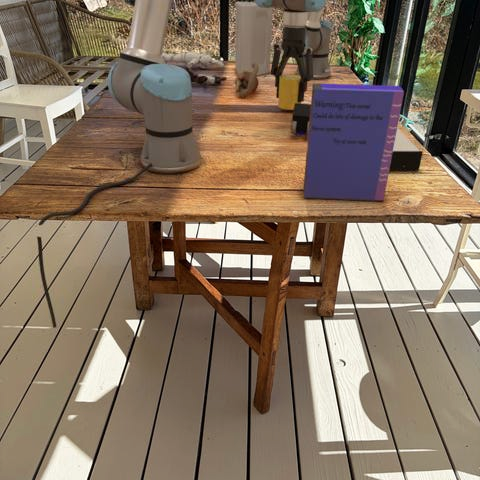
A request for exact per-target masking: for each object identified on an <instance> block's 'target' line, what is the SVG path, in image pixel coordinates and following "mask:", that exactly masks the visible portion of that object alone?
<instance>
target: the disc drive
mask: <svg viewBox="0 0 480 480" xmlns="http://www.w3.org/2000/svg"><path fill="white" fill-rule="evenodd" d="M423 153H424V152H423V151H422V150H420V149H419V148H418V147H417V146H416V145H415V144H414V143H413V142H412V141H411V140H410V139H409V138H408V137H407V136H406V135H405V134H404V133H403V132H402V130H400V128H399V127H397V132H396V137H395V142H394V148H393V153H392V158H391V164H390V169H389V172H391V171H393V172H394V171H396V172H397V171H398V172H399V171H400V172H401V171H404V172H405V171H406V172H408V171H411V172H412V171H415V172H416V171H417V172H418V171H420V166H421V163H422V158H423Z"/></svg>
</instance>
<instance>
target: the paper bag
mask: <svg viewBox="0 0 480 480" xmlns="http://www.w3.org/2000/svg"><path fill="white" fill-rule="evenodd" d="M273 8H274V7H270V8H261V7H259V6H258V5H257V4H256V3H255V1H254V2H252V1H235V59H234V60H235V62H234V63H235V65H234V66H235V68H234V69H235V71H236V73H237V76H238V75H239V74H240V72H241V71H243V70H245V71H249V72H253V70H254V68H253V67H252V64H253V63H256V64H257V65H258V67H259V70H258V73H257V75H256V77H257V76H259V75H260V76H261V75H266V74H270V72H271V56H272V55H271V54H272V33H273V32H272V31H273V10H274V9H273Z"/></svg>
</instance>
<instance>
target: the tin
mask: <svg viewBox="0 0 480 480" xmlns="http://www.w3.org/2000/svg"><path fill="white" fill-rule="evenodd" d="M299 82H301V77H300V76H299V75H296V74H282V75H281V76H280V79H279V97H278V98H277V99H278V100H277V107H278V108H279V109H282V110H287V111H293V110H294V105H295V103H300V104H302V102H298V92H299Z"/></svg>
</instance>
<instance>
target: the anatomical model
mask: <svg viewBox="0 0 480 480" xmlns="http://www.w3.org/2000/svg"><path fill="white" fill-rule="evenodd" d="M252 67H253V68H254V70H253V72H249V71H245V70H243V71H241V72H240V74H239V75H238V74H237V76H236V77H235V79H234V85H235V91H234V92H235V93H238V98H241V99H242V98H243V99H245V98H246V97H247V96H248V95H250V94H252V93H253V92H256V90H257V89H258V88H259V85H260V84H259V79H258V77H257V76H258V75H257V73H258V70H259V67H258V65H257V64H256V63H253V64H252ZM256 75H257V76H256Z"/></svg>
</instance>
